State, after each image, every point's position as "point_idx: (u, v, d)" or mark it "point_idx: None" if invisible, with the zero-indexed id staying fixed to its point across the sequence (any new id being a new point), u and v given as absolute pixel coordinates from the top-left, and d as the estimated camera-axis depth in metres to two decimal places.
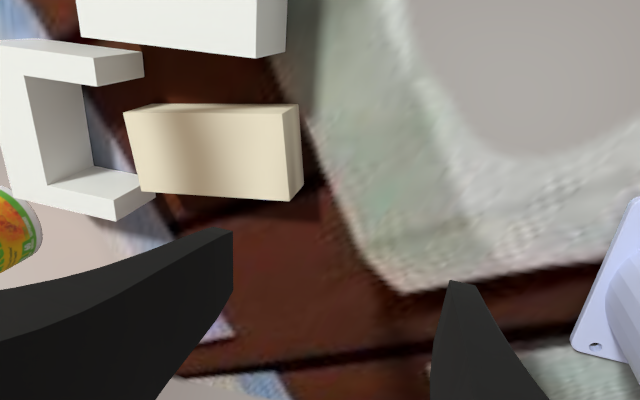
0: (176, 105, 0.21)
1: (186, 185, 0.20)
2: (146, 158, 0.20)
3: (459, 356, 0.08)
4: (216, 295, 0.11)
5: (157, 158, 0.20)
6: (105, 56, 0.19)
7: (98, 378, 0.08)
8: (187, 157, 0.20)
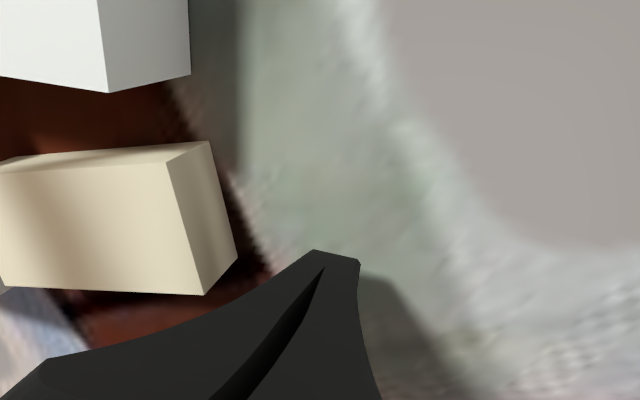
0: (41, 157, 0.14)
1: (58, 276, 0.14)
2: None
3: None
4: None
5: (13, 240, 0.14)
6: None
7: None
8: (50, 236, 0.13)
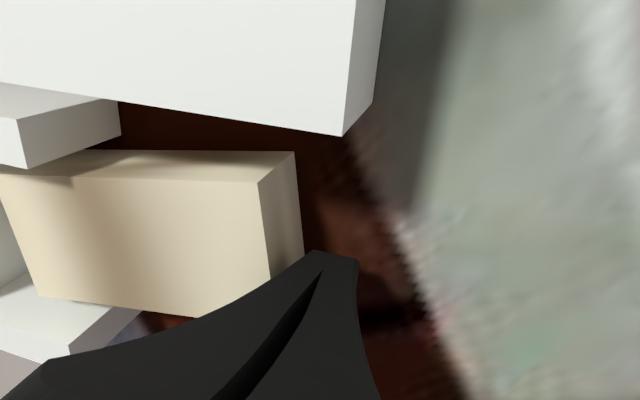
0: (90, 156, 0.13)
1: (105, 291, 0.12)
2: (38, 247, 0.12)
3: None
4: None
5: (55, 249, 0.12)
6: (43, 112, 0.10)
7: None
8: (101, 249, 0.11)
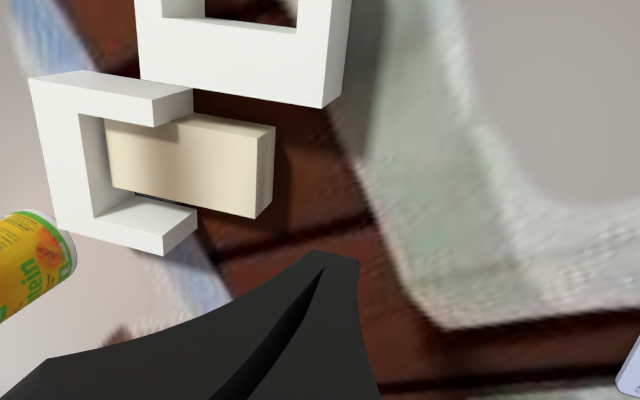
0: None
1: (157, 188, 0.21)
2: (121, 156, 0.21)
3: None
4: None
5: (132, 159, 0.21)
6: (161, 96, 0.19)
7: None
8: (161, 162, 0.20)
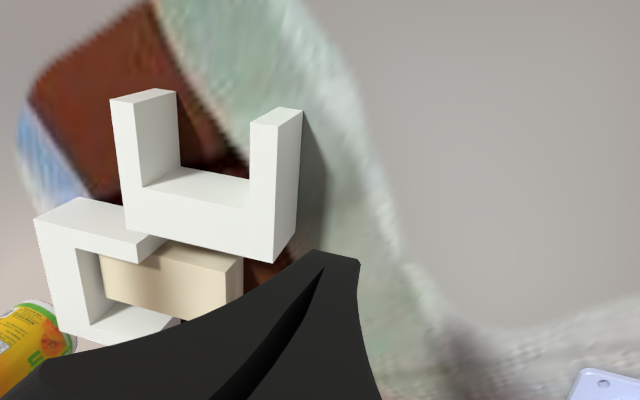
0: None
1: (144, 302, 0.25)
2: (112, 276, 0.24)
3: None
4: None
5: (122, 278, 0.24)
6: (144, 237, 0.22)
7: None
8: (147, 283, 0.24)
